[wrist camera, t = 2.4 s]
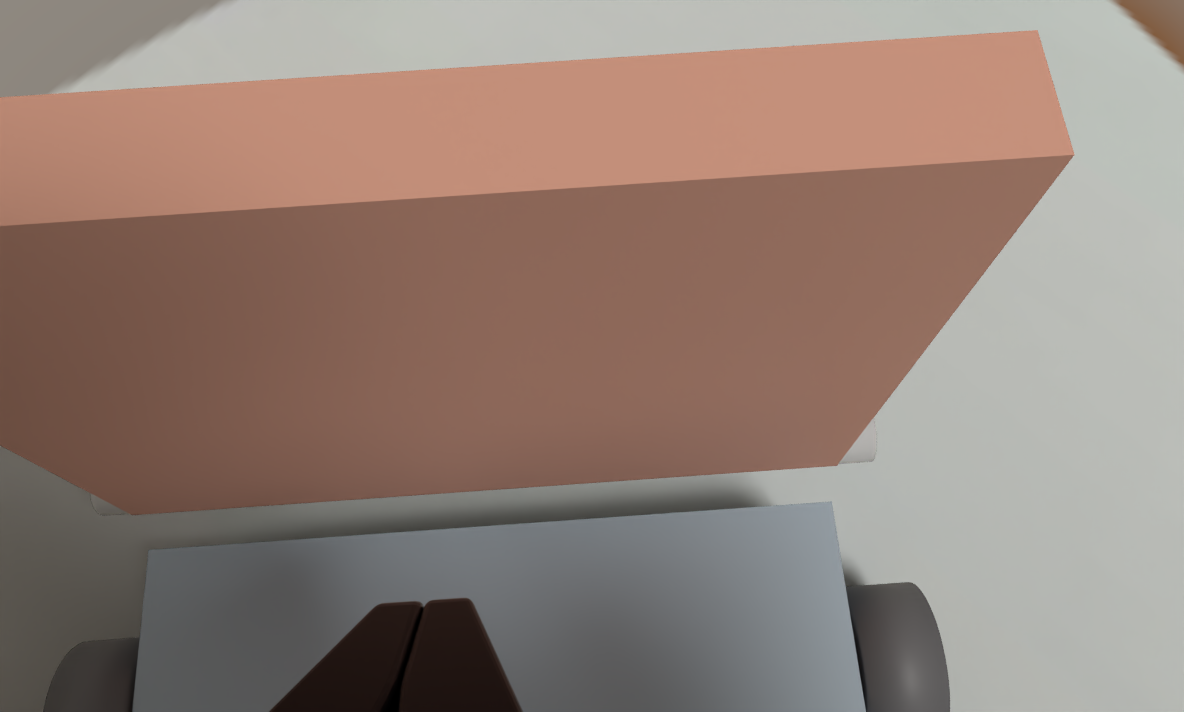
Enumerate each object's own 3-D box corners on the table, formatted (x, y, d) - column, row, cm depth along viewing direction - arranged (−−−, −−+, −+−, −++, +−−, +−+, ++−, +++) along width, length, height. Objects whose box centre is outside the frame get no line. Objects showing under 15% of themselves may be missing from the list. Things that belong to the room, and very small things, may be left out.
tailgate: (868, 476, 16) (1163, 149, 8) (111, 530, 16) (-464, 256, 8) (856, 408, 17) (1122, 25, 8) (119, 459, 17) (-413, 124, 8)
